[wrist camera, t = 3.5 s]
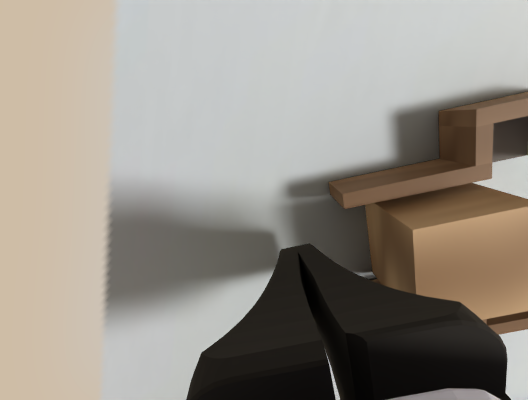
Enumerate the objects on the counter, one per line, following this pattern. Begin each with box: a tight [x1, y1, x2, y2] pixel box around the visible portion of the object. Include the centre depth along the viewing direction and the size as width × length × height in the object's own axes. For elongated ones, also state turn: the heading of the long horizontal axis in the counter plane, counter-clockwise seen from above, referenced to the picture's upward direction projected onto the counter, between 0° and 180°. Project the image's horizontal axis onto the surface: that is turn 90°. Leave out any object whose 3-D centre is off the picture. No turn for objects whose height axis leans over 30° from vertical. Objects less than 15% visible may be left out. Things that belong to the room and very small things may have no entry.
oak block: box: [365, 183, 528, 320], centre depth 11 cm, size 4×4×4 cm
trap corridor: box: [329, 92, 528, 335], centre depth 12 cm, size 10×14×2 cm
